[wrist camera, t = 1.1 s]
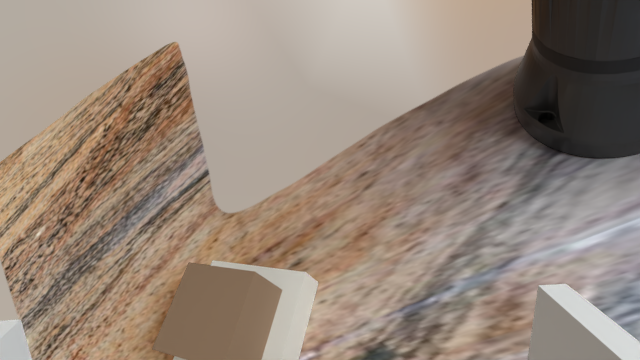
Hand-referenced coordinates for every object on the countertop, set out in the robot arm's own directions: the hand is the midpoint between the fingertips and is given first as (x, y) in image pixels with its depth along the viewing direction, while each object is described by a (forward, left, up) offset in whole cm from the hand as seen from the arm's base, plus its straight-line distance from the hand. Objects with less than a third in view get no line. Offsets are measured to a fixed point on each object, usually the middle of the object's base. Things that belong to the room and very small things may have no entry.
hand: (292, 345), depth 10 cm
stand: (-3, -20, -26) cm, 33 cm away
